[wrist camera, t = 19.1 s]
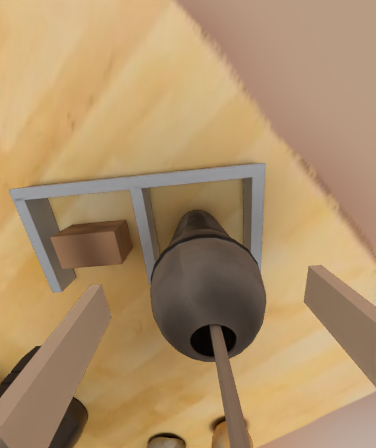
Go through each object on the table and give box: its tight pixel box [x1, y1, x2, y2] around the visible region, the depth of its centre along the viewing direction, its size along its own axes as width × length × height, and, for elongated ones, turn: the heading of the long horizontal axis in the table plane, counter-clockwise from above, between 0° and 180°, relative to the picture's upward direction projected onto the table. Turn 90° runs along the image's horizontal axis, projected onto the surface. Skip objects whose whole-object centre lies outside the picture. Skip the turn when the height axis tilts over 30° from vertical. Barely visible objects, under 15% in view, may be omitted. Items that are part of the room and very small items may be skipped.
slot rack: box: [9, 163, 265, 293], centre depth 21 cm, size 26×13×3 cm, turn 96°
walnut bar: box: [50, 220, 132, 269], centre depth 21 cm, size 7×4×4 cm, turn 96°
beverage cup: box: [150, 210, 266, 448], centre depth 13 cm, size 7×7×20 cm
